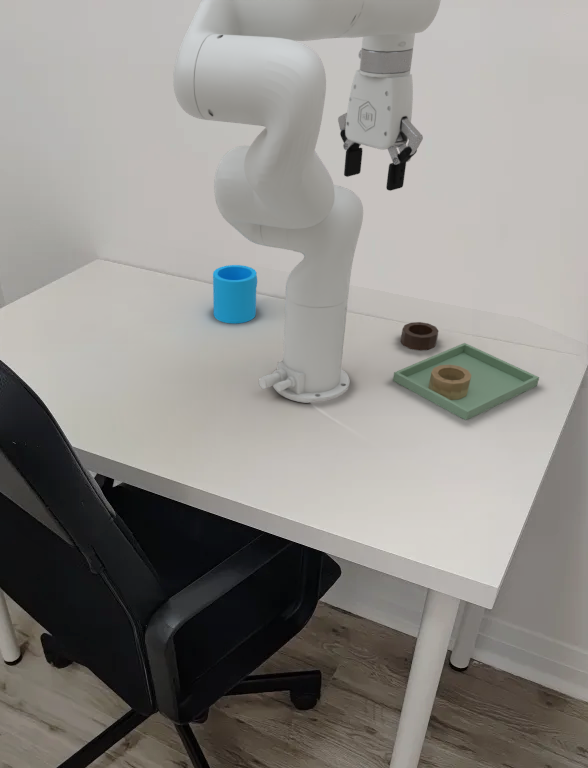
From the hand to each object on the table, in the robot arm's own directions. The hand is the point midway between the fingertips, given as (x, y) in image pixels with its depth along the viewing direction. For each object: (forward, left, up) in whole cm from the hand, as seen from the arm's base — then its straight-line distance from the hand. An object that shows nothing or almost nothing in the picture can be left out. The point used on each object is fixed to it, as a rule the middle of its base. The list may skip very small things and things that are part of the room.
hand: (372, 181), depth 126 cm
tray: (-1, -26, -26) cm, 37 cm away
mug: (-12, +20, -26) cm, 35 cm away
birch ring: (-4, -26, -26) cm, 36 cm away
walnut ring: (+4, -11, -26) cm, 29 cm away
